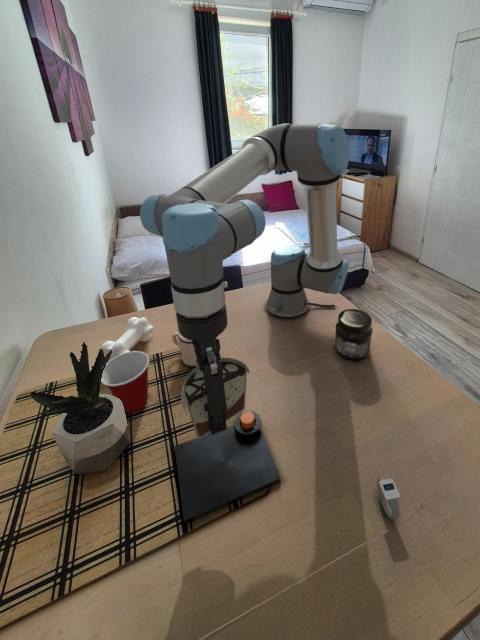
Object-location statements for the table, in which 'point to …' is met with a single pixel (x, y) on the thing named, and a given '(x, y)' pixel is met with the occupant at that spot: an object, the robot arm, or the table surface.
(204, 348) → the robot arm
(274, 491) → the table surface
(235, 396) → the slice of cake
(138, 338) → the bone shaped toy
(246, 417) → the tare button
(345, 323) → the supplement container
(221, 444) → the scale
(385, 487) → the wristwatch
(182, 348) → the teacup with lid
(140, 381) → the plastic cup
